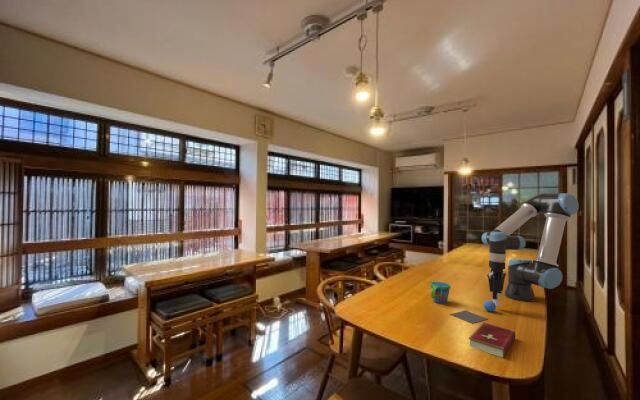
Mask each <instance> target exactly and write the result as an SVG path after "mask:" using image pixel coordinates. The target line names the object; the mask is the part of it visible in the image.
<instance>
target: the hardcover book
mask: <svg viewBox="0 0 640 400" xmlns="http://www.w3.org/2000/svg"><path fill="white" fill-rule="evenodd" d="M515 339H516V331H515V330H513V329H509V328H505V327H502V326H499V325H495V324H491V323H488V322H484V321H482V323H481V324H480V325H479V326H478V327H477V328H476V329H475V330H474V332H473V333H472V334H471V335H469V337H468V340H469V347H470V348H474V349H475V350H479V351H482V352H485V353H488V354H491V355H494V356H497V357H501V358H502V359H505V357H506V355H507V353H508V352H509V350H510V348H511V347H512V345H513V343H514V341H515Z"/></svg>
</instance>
